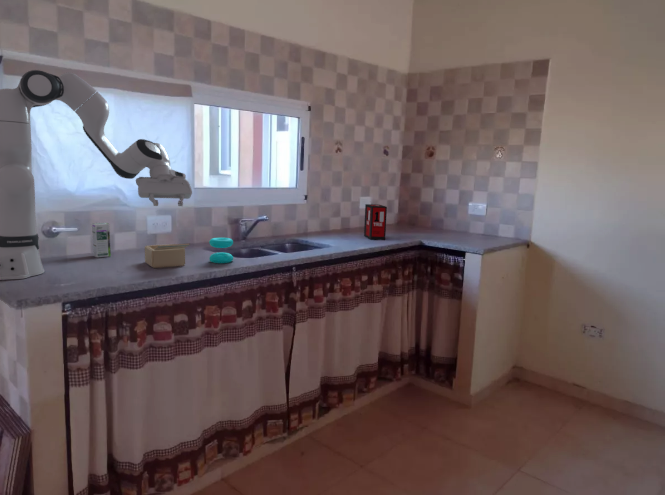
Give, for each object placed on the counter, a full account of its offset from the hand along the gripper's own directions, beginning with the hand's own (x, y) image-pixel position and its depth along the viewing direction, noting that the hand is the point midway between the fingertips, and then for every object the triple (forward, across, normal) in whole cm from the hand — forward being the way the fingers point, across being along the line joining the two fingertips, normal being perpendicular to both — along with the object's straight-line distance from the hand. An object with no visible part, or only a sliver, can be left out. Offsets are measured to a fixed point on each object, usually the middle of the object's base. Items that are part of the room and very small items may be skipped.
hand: (168, 205), depth 184 cm
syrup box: (-6, -19, +44) cm, 48 cm away
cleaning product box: (-8, +133, +40) cm, 139 cm away
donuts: (+15, +23, +19) cm, 34 cm away
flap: (+12, +1, +13) cm, 17 cm away
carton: (+13, +1, +23) cm, 26 cm away
